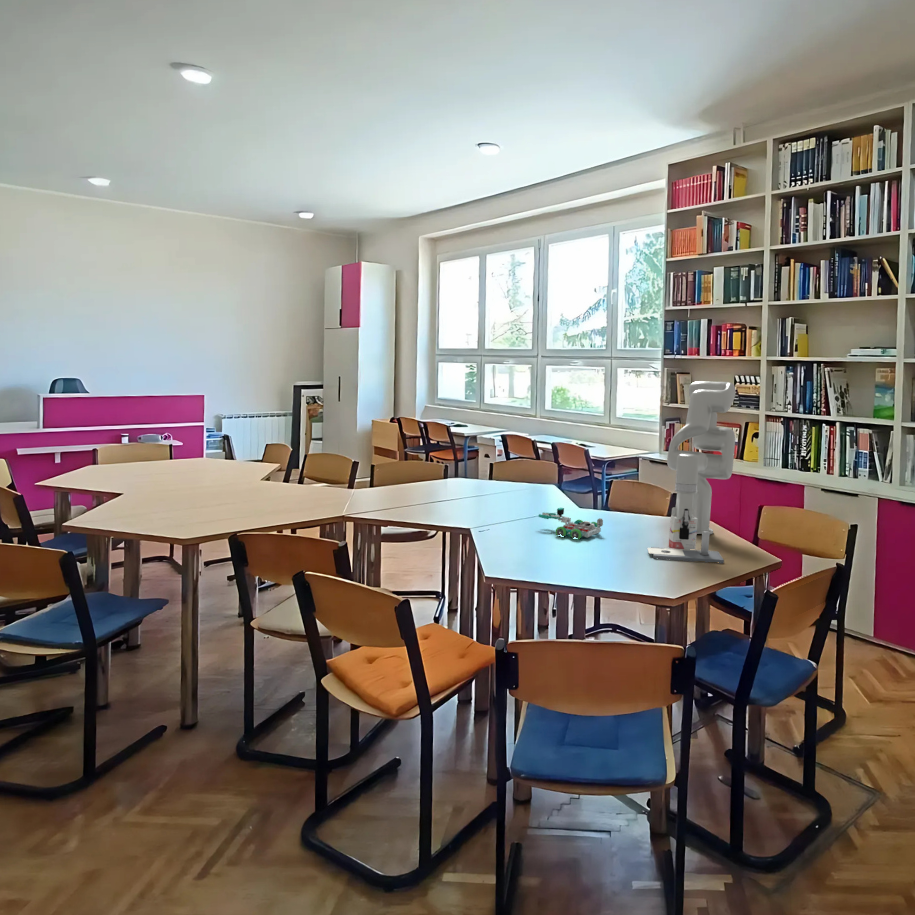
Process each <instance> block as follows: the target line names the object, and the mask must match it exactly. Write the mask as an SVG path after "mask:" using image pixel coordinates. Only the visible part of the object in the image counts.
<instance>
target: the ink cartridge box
mask: <svg viewBox="0 0 915 915" xmlns="http://www.w3.org/2000/svg"><path fill="white" fill-rule="evenodd" d="M693 512H694V508H693V509H692V519H691V520H690V521H689V539H688V540H686V539H679V534H680V528H681V519H679V520H678V519H677V517H676V507H672V508H671V516H670V523H669V524H670V525H669V537H668V548H675V549H695V550H696V544H697V536H698V535H697V522H698V519H697V518H696V517H694V516H693ZM682 520H684V518H682Z"/></svg>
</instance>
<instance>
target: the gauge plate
mask: <svg viewBox="0 0 915 915" xmlns="http://www.w3.org/2000/svg"><path fill="white" fill-rule="evenodd" d="M710 535H711V534H710V532H708V531H702V535H701V544H700V546H701V547H700V549H695V550H690V549H675V548H670V547H657V546H651V547H647V548H646V549H647V551H648V554H649V555H651V554H653V555H652V558H653V559H654V558H658V559H657V560H665V559H668V560H669V559H670V560H669V561H679V560H683V562H694V561H705V562H704V563H708V562H719V563H718V564H723V563H725V559H724V557H723V556H722V555H721V554H720V552H719V551H718V550H716V551H715V550H709V544H710ZM668 560H667V561H668Z"/></svg>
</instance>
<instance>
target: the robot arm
mask: <svg viewBox="0 0 915 915" xmlns="http://www.w3.org/2000/svg"><path fill="white" fill-rule="evenodd" d="M688 395H689V396H688V397H689V403H688V409H687V414H686V415H687V416H686V419H685V420H686V421H685V425H684V426H683V427H681V428H680V429H679V430H678V431H677V432H676V433H675V434H674V435H673V437H672V438H671V440H670V442H669V446H668V452H667V457H666V458H667V459H666V462H667V466H668V468H669V469H670V470H672V471H676V472H675V485H674V486H675V487H674V492H675V493H676V500H675V508H676V517H677V519H678V520H679V519H681V528H680V534H679V539H686V540H688V539H689V521H690V520H691V519H692V509H693V508H694V512H693V516H694V517H696V518H697V519H698V522H697V534H702V531H708V532H710V534H709V535H712V534H713V533H714V530H713V529H712V528H711V527H710V521H711V510H712V509H711V506H712V496H713V494H712V492H713V490H712V486H711V485H710V483H709V481H708V480H707V479H714V480H715V479H717V480H729V479H730V478H731V476H732V475H733V469H734V459H735V447H736V434H735V431H734V430H733V429H732V428H729V427H719V426H717V424H718V423H717V422H718V413H722V414H723V413H724V414H725V413H728V411H730V408H731V406H732V404H733V402H734V401H735V398H736V386H735V384H734V383H732V382H730V381H729V382H728V381H712V380H710V381H708V380H705V381H704V380H699V381H694V382H692V383H690V384H689V386H688ZM690 439H692V446H693V447H694V448H695V449H696V450H700V451H691V450H681V449H680V450H679V449H678V448H679V447H680V446H681V444H682V443H683V442H685V441H686V440H690ZM702 451H710V452H720V453H721V454H713V453H704V452H702ZM682 518H684V520H682Z"/></svg>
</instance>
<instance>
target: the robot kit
mask: <svg viewBox="0 0 915 915" xmlns="http://www.w3.org/2000/svg"><path fill="white" fill-rule="evenodd" d="M564 514H565V508H564V507H558V508H557V509H556V513H555V512H554V513H553V512H545V511H544V512H542V514H541V513H539V514H538V518H541V519H545V520H549V519H552V520H553V519H554V520H558V521H560V523H564V524H563V526H558V527H557V528H556V529H555V535H556V536H557V535H560V534H561V535H562V536H565V535H566V536H568V537H572V538H574V537H576V538H578V539H579V540H580V538H581V539H582V537H585V538H590V537H592V536H594V535H596V534H599V533H601V532H602V528H601V527H603V525H604V524H603V523H604V520H603V518H598V519H597V520H596V521H591V522H590V521H588V520H587V521H586V520H585V521H583V520H582V519H576V520H575V521H571V520H572V519H571V517H570V516H569V517H568V516H563V515H564ZM566 536H565V537H566ZM572 538H571V539H572Z"/></svg>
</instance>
